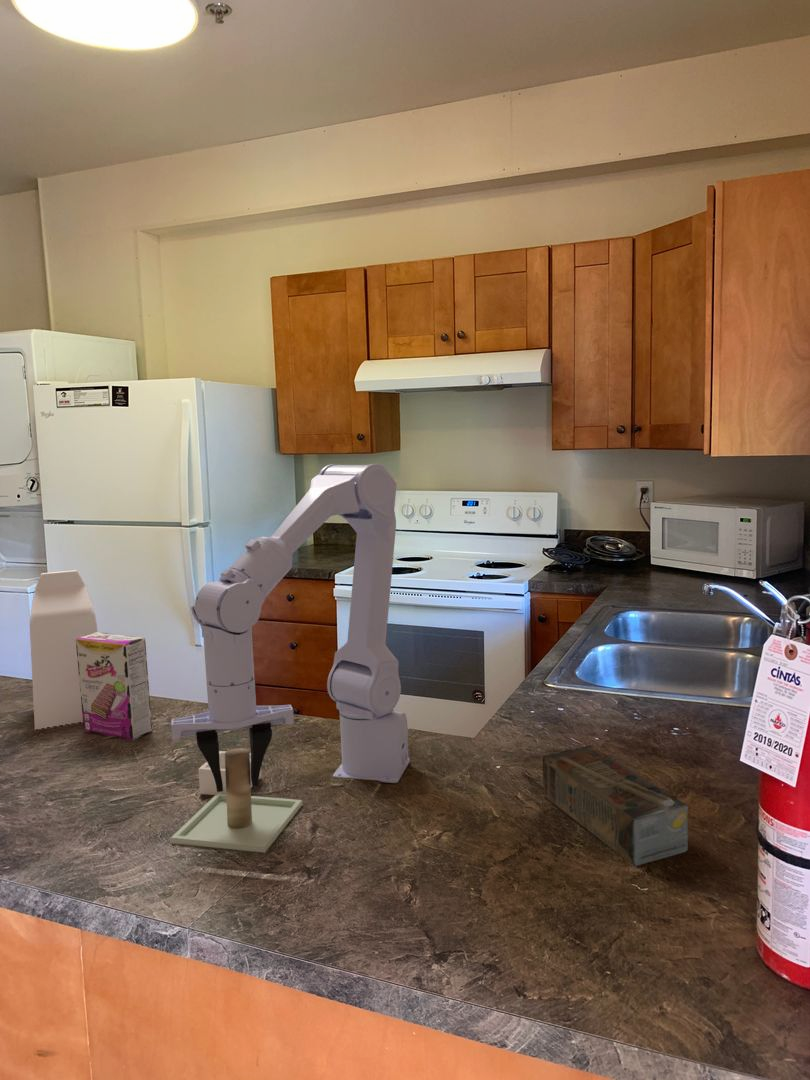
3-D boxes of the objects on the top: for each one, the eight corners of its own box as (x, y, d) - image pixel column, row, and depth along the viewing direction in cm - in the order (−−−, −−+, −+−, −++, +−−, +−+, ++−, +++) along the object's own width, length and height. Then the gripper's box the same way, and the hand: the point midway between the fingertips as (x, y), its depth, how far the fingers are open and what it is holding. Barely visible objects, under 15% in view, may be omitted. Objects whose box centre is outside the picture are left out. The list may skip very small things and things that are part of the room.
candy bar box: (81, 733, 133) (73, 638, 131) (104, 723, 137) (96, 631, 135) (132, 742, 128) (124, 643, 126) (154, 731, 133) (146, 636, 130)
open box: (261, 780, 112) (259, 753, 111) (242, 800, 106) (240, 771, 105) (221, 777, 113) (219, 750, 113) (200, 796, 107) (198, 768, 107)
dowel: (250, 815, 100) (247, 747, 99) (253, 825, 97) (250, 755, 97) (226, 819, 99) (223, 750, 98) (228, 829, 96) (226, 758, 96)
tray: (302, 808, 103) (301, 800, 103) (265, 856, 91) (264, 846, 91) (218, 801, 106) (217, 793, 105) (171, 847, 94) (170, 837, 94)
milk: (34, 730, 135) (20, 580, 132) (35, 709, 146) (22, 570, 142) (109, 718, 140) (97, 573, 137) (105, 699, 150) (93, 564, 147)
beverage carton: (632, 870, 86) (632, 813, 85) (539, 799, 104) (539, 751, 103) (690, 854, 89) (691, 798, 88) (590, 787, 107) (590, 740, 106)
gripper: (285, 664, 102) (291, 764, 103) (168, 677, 98) (176, 781, 99) (293, 679, 95) (299, 786, 97) (168, 694, 91) (176, 805, 93)
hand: (237, 785), depth 98 cm, fingers open, 4 cm apart
